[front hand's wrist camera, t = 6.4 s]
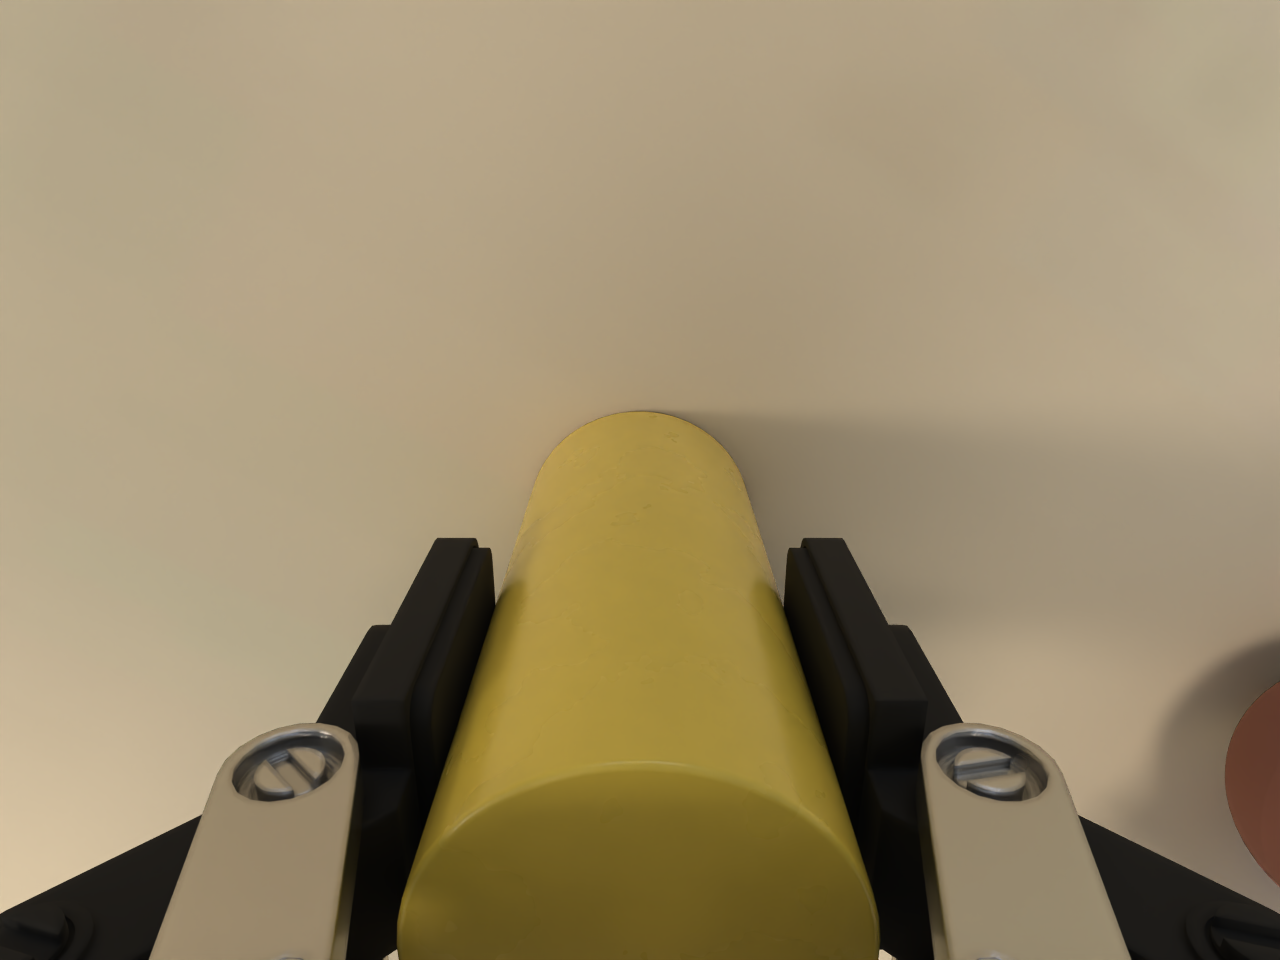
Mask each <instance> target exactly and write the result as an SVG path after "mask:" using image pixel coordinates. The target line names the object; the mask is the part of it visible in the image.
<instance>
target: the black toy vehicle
mask: <svg viewBox="0 0 1280 960" xmlns="http://www.w3.org/2000/svg"><path fill="white" fill-rule="evenodd" d="M1225 786H1226V794H1227V799H1228V804H1229V808H1230V811H1231V814H1232V817H1233V820H1234V823H1235V825H1236V827H1237V829H1238V831H1239V833H1240V835H1241V837H1242V840H1243V842H1244V843H1245V845H1246V847H1247V848H1248V850H1249V851H1250V853H1251V854H1252V856H1253V857H1254V859H1255V860H1256V861H1257V863H1258V864H1259V865H1260V866H1261V868H1262V869H1263V870H1264V871H1265V872H1266V874H1267V875H1268V876H1269V877H1270V878H1271V879H1272V880H1273V881H1274V882H1275V883H1276V884H1277V885H1278V886H1279V887H1280V682H1278V683H1276V684H1275V685H1273V686H1272V687H1271V688H1269V689H1268V690H1267V691H1265V692H1264V693H1263V694H1262V695H1261V696H1260V697H1259V698H1258V699H1257V700H1256V701H1255V702H1254V703H1253V704H1252V705H1251V706H1250V707H1249V709H1248V710H1247V711H1246V713H1245V714H1244V715H1243V717H1242V718H1241V720H1240V722H1239V723H1238V725H1237V727H1236V729H1235V731H1234V733H1233V736H1232V738H1231V741H1230V744H1229V748H1228V752H1227V757H1226V765H1225Z"/></svg>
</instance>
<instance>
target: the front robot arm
mask: <svg viewBox="0 0 1280 960" xmlns="http://www.w3.org/2000/svg"><path fill="white" fill-rule="evenodd" d="M495 606H496V605H495V591H494V576H493V561H492V553H491V549H490V548H479V547H478V542H477V540H476V538H437V539H436V540H435V542H434V544H433V546H432V547H431V549H430V551H429V553H428V555H427V557H426V559H425V561H424V563H423V565H422V566H421V568H420V570H419V572H418V574H417V576H416V578H415V580H414V582H413V584H412V585H411V587H410V589H409V591H408V593H407V595H406V597H405V599H404V601H403V603H402V604H401V606H400V608H399V610H398V612H397V614H396V616H395V618H394V620H393V622H392V623H391V625H374V626H372V627H371V628H370V629H369V630H368V632H367V633H366V635H365V637H364V639H363V641H362V642H361V644H360V646H359V648H358V649H357V651H356V653H355V655H354V656H353V658H352V660H351V662H350V663H349V665H348V667H347V669H346V671H345V672H344V674H343V676H342V678H341V679H340V681H339V683H338V685H337V686H336V688H335V690H334V692H333V693H332V695H331V697H330V699H329V700H328V702H327V704H326V706H325V708H324V709H323V711H322V713H321V715H320V716H319V718H318V720H317V722H316V723H304V724H296V725H291V726H286V727H281V728H277V729H275V730H272V731H270V732H267V733H264V734H262V735H259V736H257V737H255V738H254V739H252V740H250V741H249V742H247V743H245V744H244V745H242V746H240V747H239V748H238V749H237V750H236V751H235V752H234V753H233V754H232V755H230V756H229V757H228V758H227V759H226V760H225V762H224V764H223V765H222V767H221V768H220V770H219V772H218V773H217V776H216V779H215V781H214V784H213V787H212V789H211V792H210V795H209V798H208V800H207V803H206V806H205V808H204V811H203V814H202V815H200V816H198V817H196V818H194V819H192V820H190V821H188V822H186V823H184V824H182V825H180V826H178V827H176V828H174V829H172V830H170V831H168V832H166V833H164V834H161V835H159V836H157V837H155V838H153V839H151V840H149V841H147V842H145V843H143V844H141V845H139V846H137V847H135V848H133V849H131V850H129V851H127V852H125V853H123V854H121V855H119V856H117V857H114V858H112V859H110V860H108V861H106V862H104V863H102V864H100V865H98V866H96V867H94V868H92V869H90V870H88V871H86V872H84V873H82V874H80V875H78V876H76V877H74V878H72V879H70V880H67V881H65V882H63V883H61V884H59V885H57V886H55V887H53V888H51V889H49V890H47V891H45V892H43V893H41V894H39V895H37V896H35V897H33V898H31V899H29V900H27V901H25V902H23V903H20V904H18V905H16V906H14V907H12V908H10V909H8V910H6V911H5V912H3V913H1V914H0V960H388V955H389V954H390V953H392V952H393V951H395V950H396V949H397V920H398V915H399V910H400V905H401V900H402V897H403V893H404V890H405V887H406V884H407V881H408V878H409V875H410V872H411V868H412V865H413V862H414V859H415V856H416V853H417V850H418V847H419V843H420V840H421V837H422V834H423V831H424V828H425V825H426V822H427V818H428V815H429V812H430V809H431V806H432V803H433V800H434V797H435V793H436V790H437V787H438V784H439V781H440V778H441V775H442V772H443V768H444V765H445V762H446V759H447V756H448V753H449V750H450V747H451V743H452V740H453V737H454V734H455V731H456V728H457V725H458V722H459V718H460V715H461V712H462V709H463V706H464V703H465V700H466V697H467V694H468V690H469V687H470V684H471V681H472V678H473V675H474V672H475V669H476V665H477V662H478V659H479V656H480V653H481V650H482V647H483V644H484V640H485V637H486V634H487V631H488V628H489V625H490V622H491V619H492V615H493V612H494V609H495ZM784 611H785V615H786V618H787V621H788V624H789V627H790V630H791V634H792V637H793V640H794V643H795V646H796V650H797V653H798V656H799V659H800V662H801V665H802V669H803V672H804V675H805V678H806V681H807V684H808V688H809V691H810V694H811V697H812V700H813V704H814V707H815V710H816V713H817V716H818V719H819V723H820V726H821V729H822V732H823V735H824V739H825V742H826V745H827V748H828V751H829V754H830V758H831V761H832V764H833V767H834V770H835V773H836V777H837V780H838V783H839V786H840V789H841V793H842V796H843V799H844V802H845V805H846V808H847V812H848V815H849V818H850V821H851V824H852V827H853V831H854V834H855V837H856V840H857V843H858V847H859V850H860V853H861V856H862V859H863V862H864V866H865V869H866V872H867V875H868V878H869V881H870V885H871V888H872V891H873V895H874V899H875V903H876V907H877V911H878V915H879V926H880V949H879V950H884V951H886V952H887V953H889V954H890V955H892V960H1280V914H1278V913H1277V912H1275V911H1273V910H1271V909H1269V908H1267V907H1265V906H1263V905H1261V904H1259V903H1257V902H1255V901H1253V900H1251V899H1249V898H1247V897H1245V896H1243V895H1241V894H1239V893H1236V892H1234V891H1232V890H1230V889H1228V888H1226V887H1224V886H1222V885H1220V884H1218V883H1216V882H1214V881H1212V880H1210V879H1208V878H1206V877H1204V876H1202V875H1200V874H1198V873H1196V872H1194V871H1192V870H1189V869H1187V868H1185V867H1183V866H1181V865H1179V864H1177V863H1175V862H1173V861H1171V860H1169V859H1167V858H1165V857H1163V856H1161V855H1159V854H1157V853H1155V852H1153V851H1151V850H1149V849H1147V848H1144V847H1142V846H1140V845H1138V844H1136V843H1134V842H1132V841H1130V840H1128V839H1126V838H1124V837H1122V836H1120V835H1118V834H1116V833H1114V832H1112V831H1110V830H1108V829H1106V828H1104V827H1102V826H1099V825H1097V824H1095V823H1093V822H1091V821H1089V820H1087V819H1085V818H1083V817H1081V816H1079V815H1078V814H1077V811H1076V808H1075V806H1074V803H1073V800H1072V798H1071V795H1070V792H1069V789H1068V787H1067V784H1066V781H1065V779H1064V776H1063V773H1062V772H1061V770H1060V768H1059V767H1058V765H1057V764H1056V762H1055V760H1054V759H1053V758H1052V757H1051V756H1050V755H1048V754H1047V753H1046V752H1045V751H1044V750H1043V749H1042V748H1041V747H1040V746H1038V745H1036V744H1035V743H1033V742H1031V741H1030V740H1028V739H1026V738H1025V737H1023V736H1021V735H1018V734H1016V733H1013V732H1010V731H1008V730H1005V729H1003V728H999V727H994V726H989V725H984V724H976V723H963V721H962V719H961V718H960V716H959V714H958V712H957V711H956V709H955V707H954V705H953V704H952V702H951V700H950V698H949V697H948V695H947V693H946V691H945V689H944V688H943V686H942V684H941V682H940V681H939V679H938V677H937V675H936V674H935V672H934V670H933V668H932V667H931V665H930V663H929V661H928V659H927V658H926V656H925V654H924V652H923V651H922V649H921V647H920V645H919V644H918V642H917V640H916V638H915V637H914V635H913V633H912V631H911V630H910V629H909V628H908V626H905V625H888V623H887V621H886V619H885V617H884V615H883V614H882V612H881V610H880V608H879V606H878V604H877V602H876V600H875V598H874V596H873V595H872V593H871V591H870V589H869V587H868V585H867V583H866V581H865V579H864V577H863V576H862V574H861V572H860V570H859V568H858V566H857V564H856V562H855V560H854V558H853V557H852V555H851V553H850V551H849V549H848V547H847V545H846V543H845V541H844V540H843V539H842V538H803V540H802V543H801V548H789V550H788V554H787V565H786V580H785V594H784Z"/></svg>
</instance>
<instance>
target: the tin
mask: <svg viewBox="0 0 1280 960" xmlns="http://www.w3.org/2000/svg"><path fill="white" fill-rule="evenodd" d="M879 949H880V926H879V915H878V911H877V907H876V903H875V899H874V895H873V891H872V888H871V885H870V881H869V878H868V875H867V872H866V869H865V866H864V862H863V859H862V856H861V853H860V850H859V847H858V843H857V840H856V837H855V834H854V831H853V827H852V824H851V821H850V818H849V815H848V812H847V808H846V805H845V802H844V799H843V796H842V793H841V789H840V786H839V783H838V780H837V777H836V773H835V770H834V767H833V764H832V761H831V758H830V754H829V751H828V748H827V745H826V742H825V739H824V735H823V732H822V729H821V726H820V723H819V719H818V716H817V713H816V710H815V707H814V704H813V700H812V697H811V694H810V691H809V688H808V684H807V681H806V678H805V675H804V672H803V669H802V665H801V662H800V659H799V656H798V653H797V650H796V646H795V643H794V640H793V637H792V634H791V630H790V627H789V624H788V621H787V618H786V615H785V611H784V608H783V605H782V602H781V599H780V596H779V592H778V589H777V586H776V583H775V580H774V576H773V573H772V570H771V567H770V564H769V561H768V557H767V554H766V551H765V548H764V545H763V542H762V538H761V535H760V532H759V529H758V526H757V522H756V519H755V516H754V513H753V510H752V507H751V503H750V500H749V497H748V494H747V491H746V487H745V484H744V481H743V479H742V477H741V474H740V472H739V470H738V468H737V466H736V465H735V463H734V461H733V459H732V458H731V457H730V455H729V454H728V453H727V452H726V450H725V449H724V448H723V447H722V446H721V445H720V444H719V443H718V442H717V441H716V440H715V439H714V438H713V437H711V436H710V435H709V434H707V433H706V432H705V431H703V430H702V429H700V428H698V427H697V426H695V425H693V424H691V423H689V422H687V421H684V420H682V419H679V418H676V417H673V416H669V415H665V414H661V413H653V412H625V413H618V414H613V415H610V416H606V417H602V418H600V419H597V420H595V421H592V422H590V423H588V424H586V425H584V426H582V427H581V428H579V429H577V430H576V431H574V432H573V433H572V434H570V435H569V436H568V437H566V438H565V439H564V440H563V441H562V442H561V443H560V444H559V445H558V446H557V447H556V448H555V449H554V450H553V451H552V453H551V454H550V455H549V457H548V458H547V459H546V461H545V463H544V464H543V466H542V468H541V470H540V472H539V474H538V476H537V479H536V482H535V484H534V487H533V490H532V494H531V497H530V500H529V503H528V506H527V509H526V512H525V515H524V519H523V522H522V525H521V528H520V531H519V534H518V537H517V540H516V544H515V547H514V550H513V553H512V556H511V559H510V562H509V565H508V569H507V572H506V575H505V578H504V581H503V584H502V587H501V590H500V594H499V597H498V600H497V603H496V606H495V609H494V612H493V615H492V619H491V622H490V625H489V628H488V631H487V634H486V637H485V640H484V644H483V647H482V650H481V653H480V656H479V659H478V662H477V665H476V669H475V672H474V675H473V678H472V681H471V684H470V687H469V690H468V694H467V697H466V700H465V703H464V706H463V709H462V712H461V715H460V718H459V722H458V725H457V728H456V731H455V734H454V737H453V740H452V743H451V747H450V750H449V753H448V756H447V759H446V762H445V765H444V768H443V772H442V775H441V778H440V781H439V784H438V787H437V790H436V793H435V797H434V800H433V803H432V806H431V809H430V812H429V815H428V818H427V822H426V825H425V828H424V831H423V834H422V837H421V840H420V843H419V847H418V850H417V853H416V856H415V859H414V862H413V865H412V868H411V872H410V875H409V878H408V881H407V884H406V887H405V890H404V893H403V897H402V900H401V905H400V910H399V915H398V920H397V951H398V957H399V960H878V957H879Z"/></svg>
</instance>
